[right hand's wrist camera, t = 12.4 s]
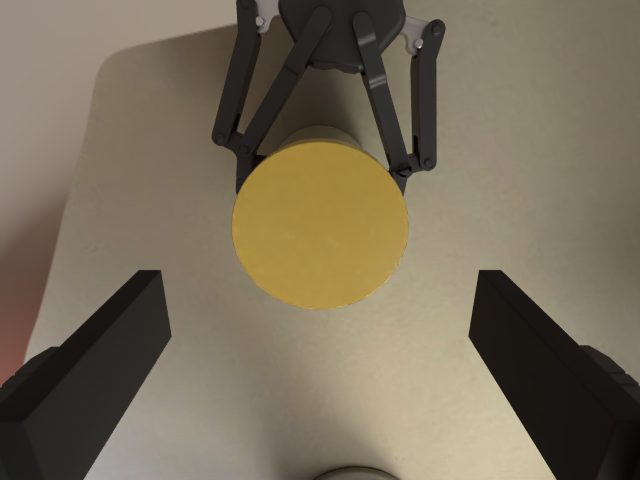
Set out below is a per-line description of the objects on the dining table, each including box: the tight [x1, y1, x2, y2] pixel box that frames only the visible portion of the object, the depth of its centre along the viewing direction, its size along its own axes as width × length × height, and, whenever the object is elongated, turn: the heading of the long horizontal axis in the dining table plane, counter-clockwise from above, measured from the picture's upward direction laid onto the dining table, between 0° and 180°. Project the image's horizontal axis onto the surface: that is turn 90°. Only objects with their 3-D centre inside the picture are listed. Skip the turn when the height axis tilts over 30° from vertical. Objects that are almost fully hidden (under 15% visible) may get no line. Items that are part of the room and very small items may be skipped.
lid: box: [232, 138, 409, 309], centre depth 22 cm, size 10×10×2 cm
